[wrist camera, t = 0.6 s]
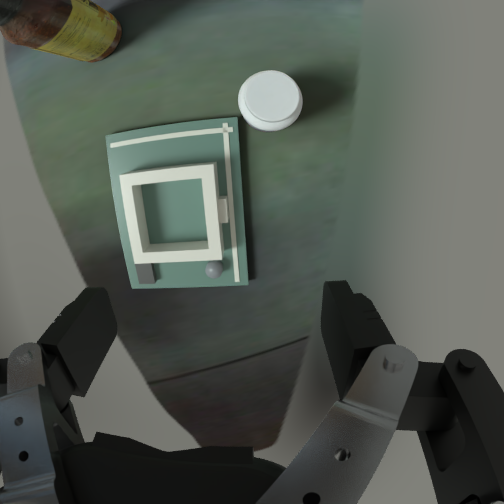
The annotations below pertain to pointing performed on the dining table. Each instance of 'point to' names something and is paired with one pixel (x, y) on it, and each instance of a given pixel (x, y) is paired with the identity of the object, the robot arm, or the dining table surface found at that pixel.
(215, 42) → the dining table surface
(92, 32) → the sauce bottle
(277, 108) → the pill bottle
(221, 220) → the board
